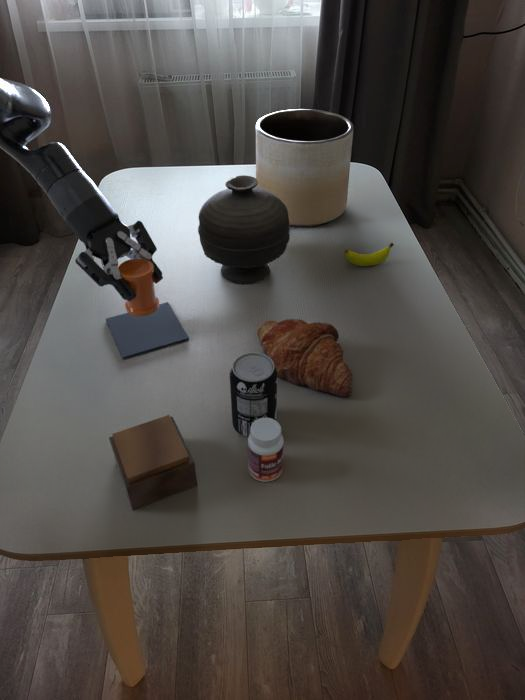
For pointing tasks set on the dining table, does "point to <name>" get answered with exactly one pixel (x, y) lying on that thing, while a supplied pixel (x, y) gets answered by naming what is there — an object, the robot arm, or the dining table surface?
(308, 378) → the pastry
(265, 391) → the beverage can
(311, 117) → the planter
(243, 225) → the pot
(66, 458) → the dining table surface
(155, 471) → the wooden box
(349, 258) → the fruit
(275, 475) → the pill bottle
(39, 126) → the robot arm
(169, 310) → the mat
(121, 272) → the spool
